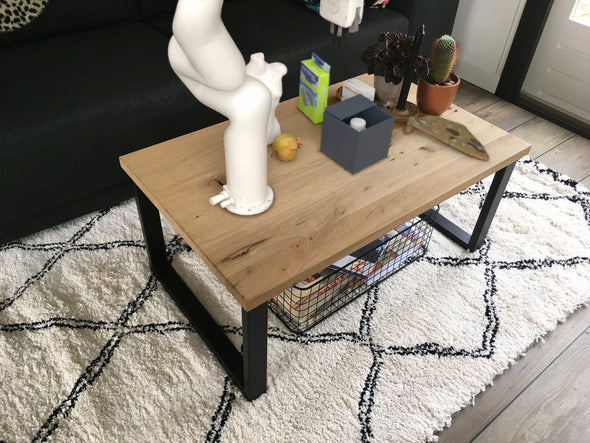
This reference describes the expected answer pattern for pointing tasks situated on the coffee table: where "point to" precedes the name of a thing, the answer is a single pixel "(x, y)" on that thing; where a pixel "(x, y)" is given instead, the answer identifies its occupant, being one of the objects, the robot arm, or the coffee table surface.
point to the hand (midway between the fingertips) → (337, 49)
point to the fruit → (285, 147)
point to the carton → (357, 139)
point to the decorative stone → (449, 134)
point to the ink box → (357, 89)
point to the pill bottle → (358, 124)
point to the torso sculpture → (269, 87)
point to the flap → (350, 106)
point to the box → (314, 88)
